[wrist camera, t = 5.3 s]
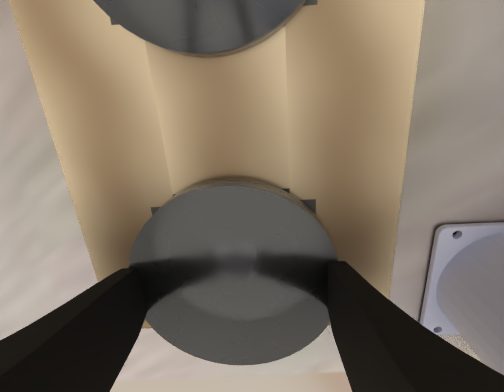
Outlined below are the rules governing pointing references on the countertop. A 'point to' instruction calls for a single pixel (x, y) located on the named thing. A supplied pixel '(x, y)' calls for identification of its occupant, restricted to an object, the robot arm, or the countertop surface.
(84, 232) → the block
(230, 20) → the peg
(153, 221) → the peg
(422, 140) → the countertop surface
